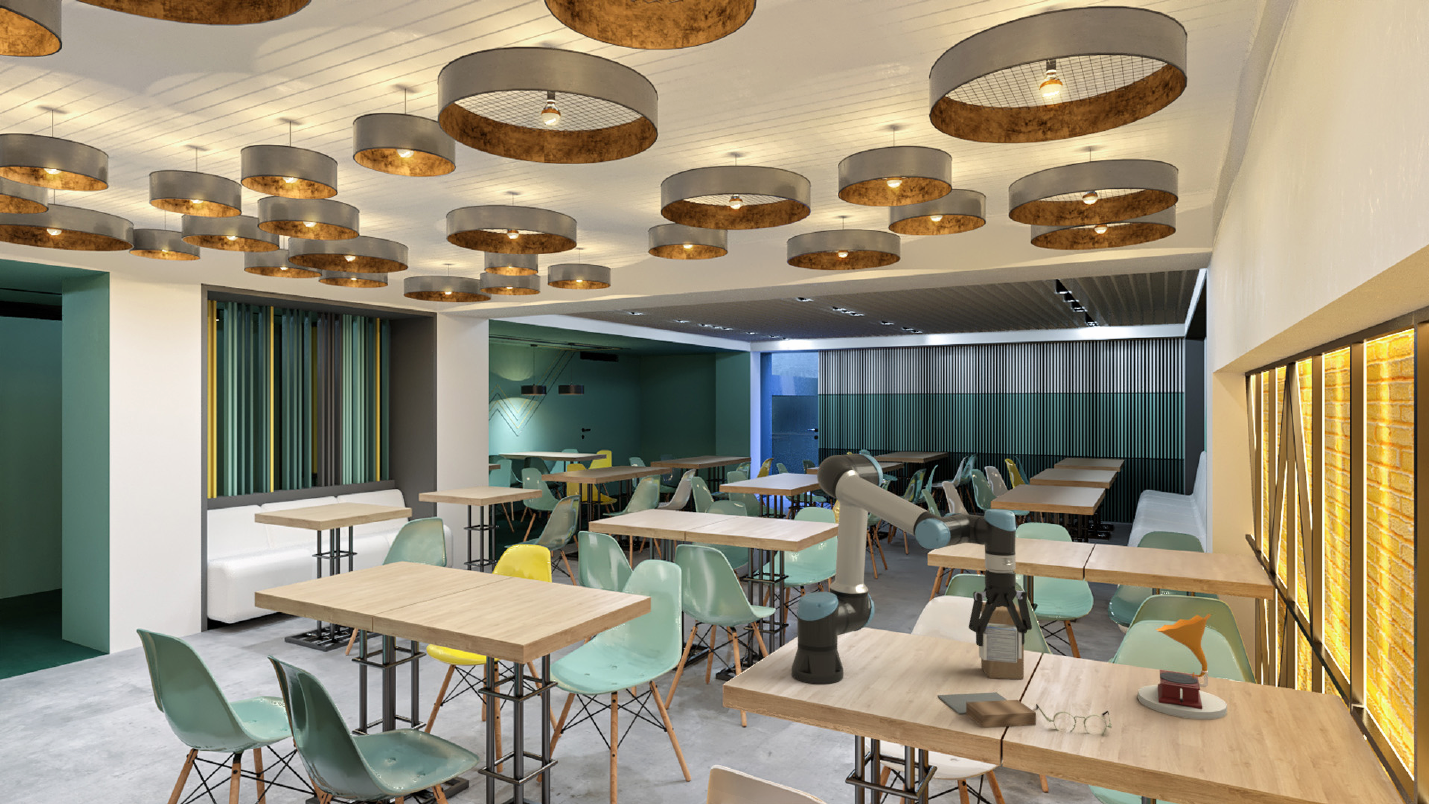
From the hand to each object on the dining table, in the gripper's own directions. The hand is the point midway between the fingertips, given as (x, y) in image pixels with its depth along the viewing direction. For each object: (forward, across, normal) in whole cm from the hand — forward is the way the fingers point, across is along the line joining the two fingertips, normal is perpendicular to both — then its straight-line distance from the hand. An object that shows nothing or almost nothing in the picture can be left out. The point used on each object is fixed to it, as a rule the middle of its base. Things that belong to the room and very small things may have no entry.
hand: (1000, 657), depth 207 cm
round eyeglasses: (+15, +16, -7) cm, 23 cm away
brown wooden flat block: (+14, -2, -4) cm, 15 cm away
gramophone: (+15, +51, 0) cm, 53 cm away
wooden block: (+14, +16, +30) cm, 37 cm away
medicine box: (+1, 0, 0) cm, 1 cm away
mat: (+14, -2, +7) cm, 16 cm away
